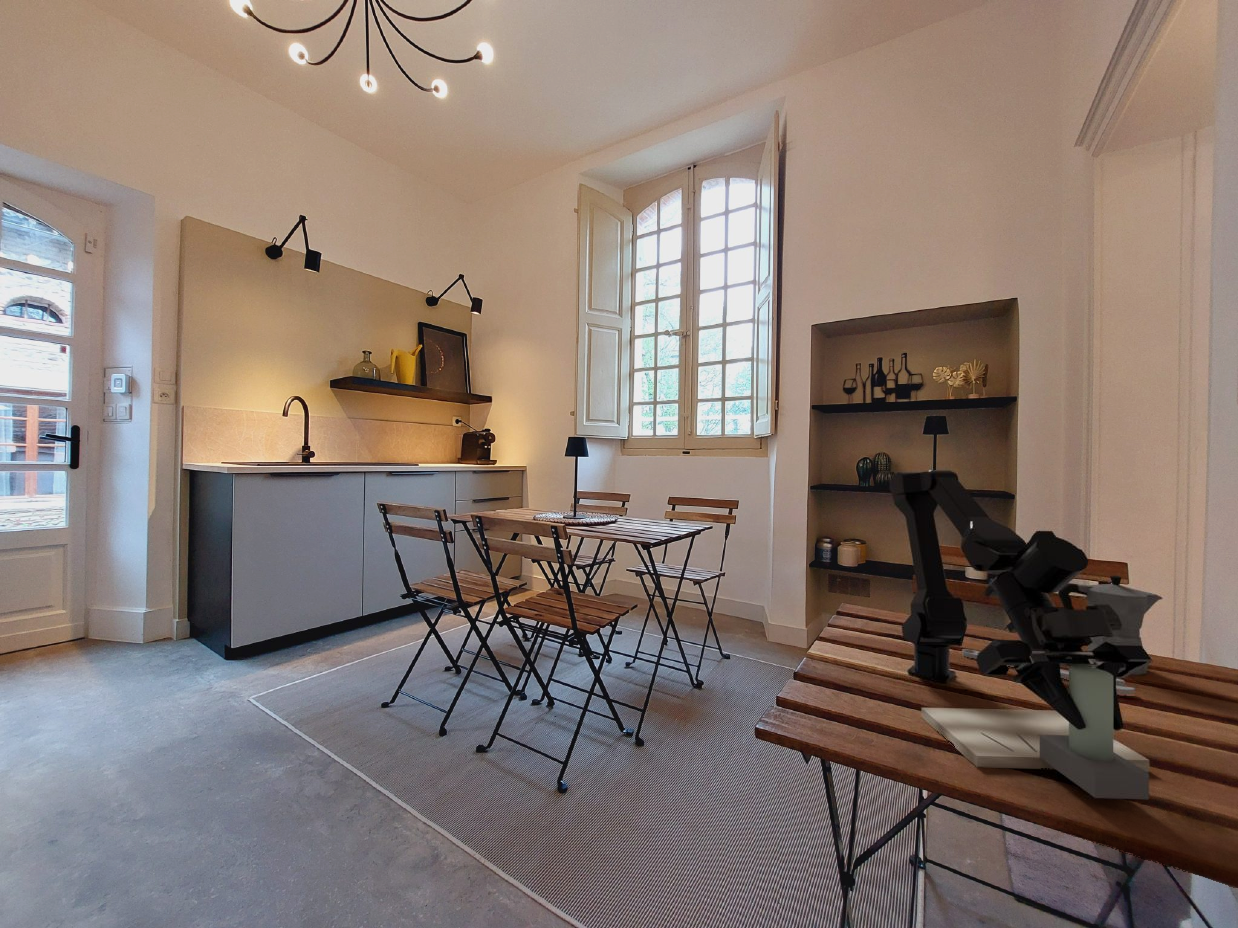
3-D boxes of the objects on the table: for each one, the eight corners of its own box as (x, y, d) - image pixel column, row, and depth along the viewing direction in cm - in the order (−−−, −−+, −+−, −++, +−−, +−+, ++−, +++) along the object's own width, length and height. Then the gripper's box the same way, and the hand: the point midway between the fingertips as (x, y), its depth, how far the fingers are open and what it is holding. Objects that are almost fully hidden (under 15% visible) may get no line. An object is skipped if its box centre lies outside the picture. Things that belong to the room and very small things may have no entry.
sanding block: (1095, 797, 58) (1095, 685, 58) (1039, 757, 66) (1039, 658, 66) (1148, 799, 58) (1148, 686, 58) (1086, 758, 66) (1086, 659, 66)
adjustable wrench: (960, 658, 104) (960, 650, 104) (969, 651, 108) (969, 643, 108) (1131, 701, 85) (1131, 690, 85) (1134, 690, 90) (1134, 680, 90)
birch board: (921, 716, 79) (921, 707, 79) (1064, 720, 78) (1064, 710, 78) (976, 766, 66) (976, 755, 66) (1149, 771, 65) (1149, 759, 65)
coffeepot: (1150, 663, 101) (1150, 574, 101) (1173, 681, 92) (1174, 584, 92) (1051, 649, 108) (1052, 566, 108) (1065, 665, 100) (1065, 575, 100)
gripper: (992, 579, 66) (1061, 703, 55) (1139, 581, 65) (1239, 707, 54) (953, 619, 74) (1008, 735, 63) (1084, 621, 73) (1162, 738, 62)
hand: (1100, 728), depth 60 cm, fingers closed on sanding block, 4 cm apart
